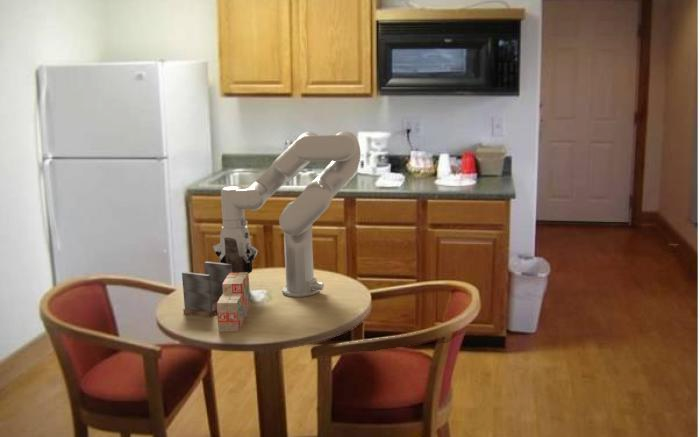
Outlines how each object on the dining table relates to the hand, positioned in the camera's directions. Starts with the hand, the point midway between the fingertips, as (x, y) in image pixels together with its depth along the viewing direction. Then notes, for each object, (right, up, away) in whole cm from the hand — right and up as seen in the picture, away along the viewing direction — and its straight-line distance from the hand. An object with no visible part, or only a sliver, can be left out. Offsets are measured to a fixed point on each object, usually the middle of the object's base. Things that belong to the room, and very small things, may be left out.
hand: (236, 271), depth 264 cm
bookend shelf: (-7, -11, -13) cm, 19 cm away
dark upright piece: (0, -8, +2) cm, 8 cm away
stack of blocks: (+3, -14, -24) cm, 28 cm away
